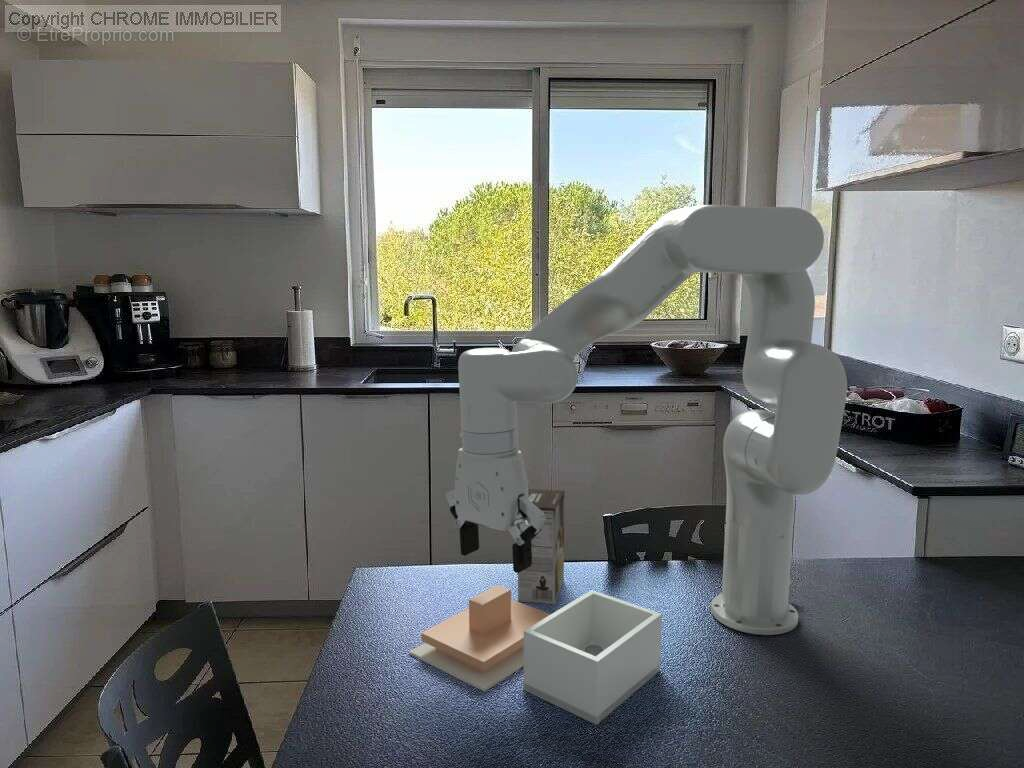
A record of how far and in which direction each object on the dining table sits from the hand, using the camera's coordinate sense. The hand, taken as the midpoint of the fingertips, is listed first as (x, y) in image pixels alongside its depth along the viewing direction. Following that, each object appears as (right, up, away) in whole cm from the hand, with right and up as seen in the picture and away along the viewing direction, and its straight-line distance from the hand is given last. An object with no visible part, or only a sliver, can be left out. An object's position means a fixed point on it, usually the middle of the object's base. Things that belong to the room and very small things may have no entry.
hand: (495, 560), depth 101 cm
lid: (-1, -12, +2) cm, 12 cm away
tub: (+13, -14, -7) cm, 20 cm away
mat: (-1, -12, +2) cm, 13 cm away
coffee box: (+7, -10, +19) cm, 22 cm away
